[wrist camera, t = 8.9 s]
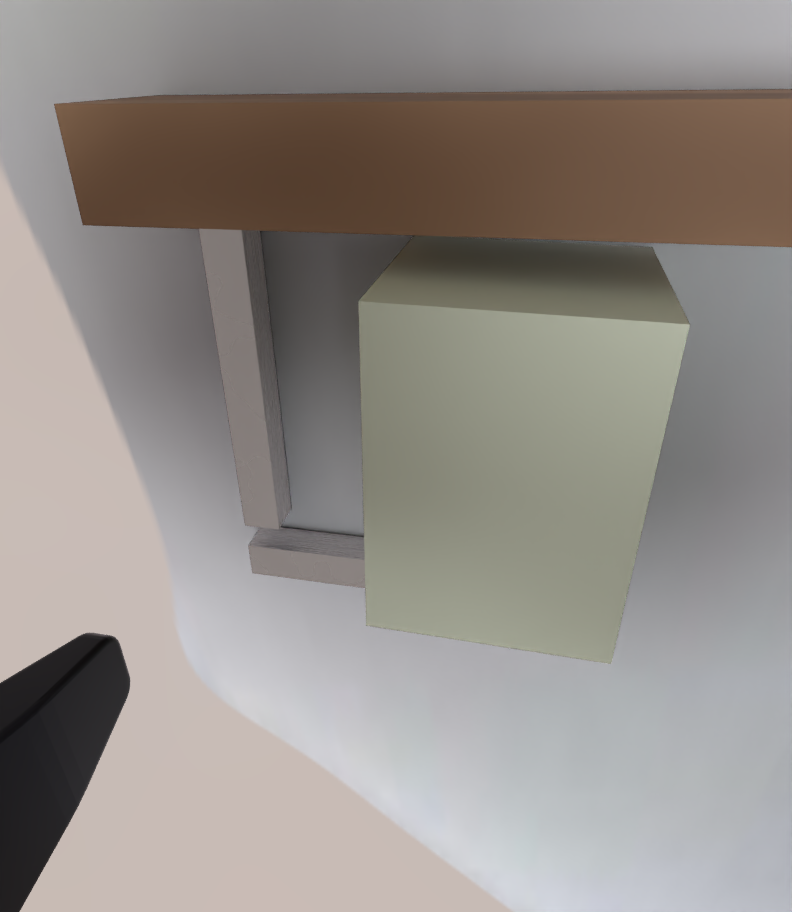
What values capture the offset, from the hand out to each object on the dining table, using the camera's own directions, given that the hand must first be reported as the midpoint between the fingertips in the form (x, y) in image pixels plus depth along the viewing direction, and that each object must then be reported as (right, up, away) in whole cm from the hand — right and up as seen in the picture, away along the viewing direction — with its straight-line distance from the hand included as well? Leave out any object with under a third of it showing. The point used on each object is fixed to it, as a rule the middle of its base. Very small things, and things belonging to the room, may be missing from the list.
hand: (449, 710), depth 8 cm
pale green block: (+2, +5, +8) cm, 10 cm away
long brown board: (+6, +9, +4) cm, 12 cm away
